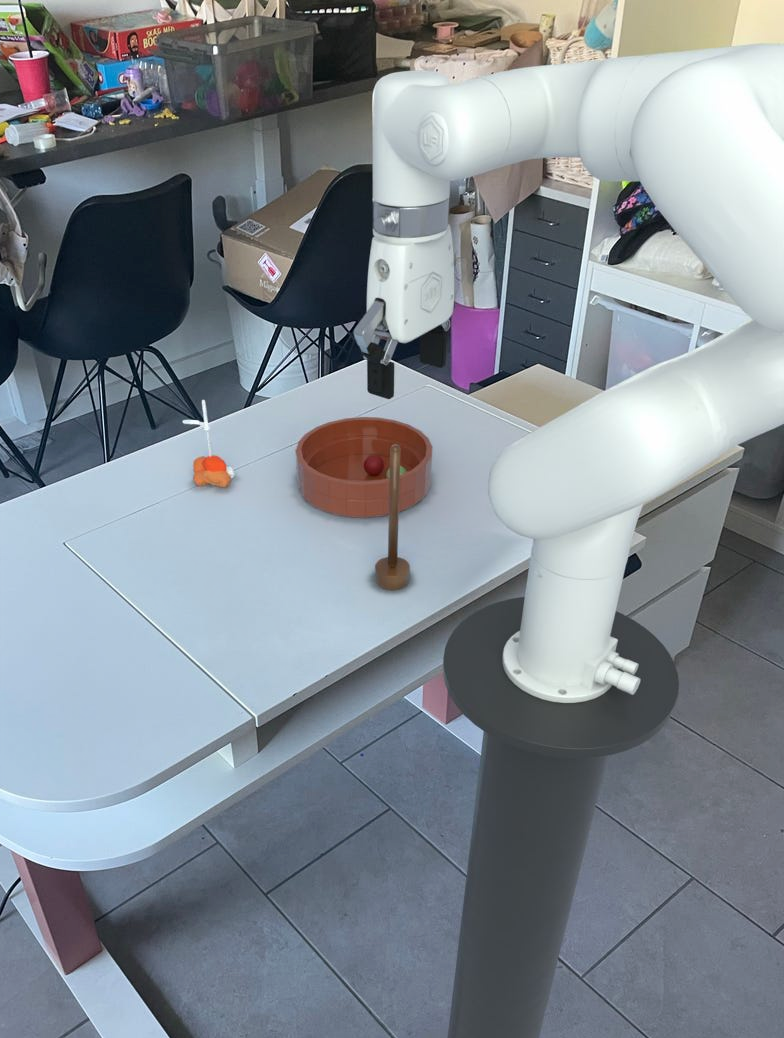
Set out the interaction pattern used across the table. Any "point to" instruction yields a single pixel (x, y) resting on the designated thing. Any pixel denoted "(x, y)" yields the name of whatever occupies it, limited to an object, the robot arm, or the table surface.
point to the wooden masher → (393, 535)
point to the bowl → (361, 465)
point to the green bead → (402, 471)
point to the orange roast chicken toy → (210, 462)
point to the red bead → (373, 465)
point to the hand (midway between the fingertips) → (407, 379)
